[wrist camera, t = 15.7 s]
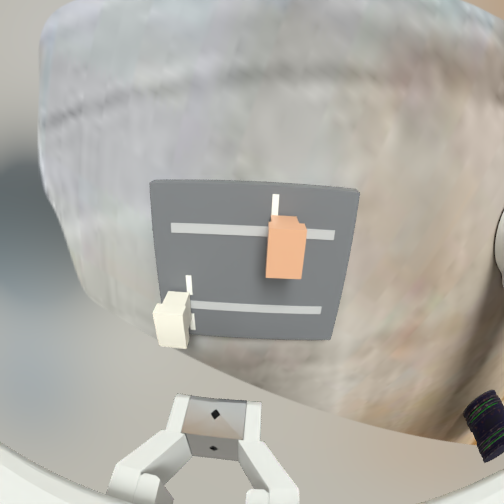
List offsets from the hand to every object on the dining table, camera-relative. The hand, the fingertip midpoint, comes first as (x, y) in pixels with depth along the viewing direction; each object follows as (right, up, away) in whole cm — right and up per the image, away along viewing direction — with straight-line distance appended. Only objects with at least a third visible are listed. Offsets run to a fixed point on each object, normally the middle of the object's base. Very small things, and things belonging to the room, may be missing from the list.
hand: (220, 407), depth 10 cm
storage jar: (+55, -30, +37) cm, 72 cm away
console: (+1, +4, +22) cm, 23 cm away
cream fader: (-7, 0, +23) cm, 24 cm away
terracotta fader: (+4, +7, +19) cm, 20 cm away
